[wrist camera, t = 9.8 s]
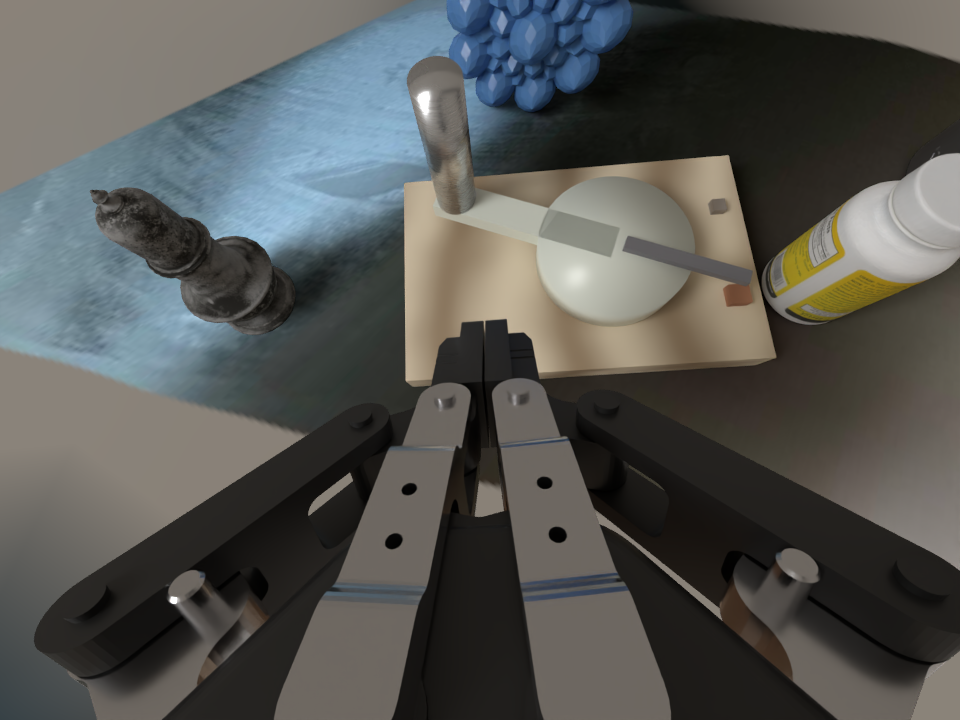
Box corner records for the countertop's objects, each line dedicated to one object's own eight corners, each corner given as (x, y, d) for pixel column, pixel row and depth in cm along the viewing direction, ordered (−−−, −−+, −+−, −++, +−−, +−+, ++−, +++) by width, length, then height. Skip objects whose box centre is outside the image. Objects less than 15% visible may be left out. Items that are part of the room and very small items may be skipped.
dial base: (713, 175, 29) (733, 148, 26) (755, 365, 25) (783, 355, 23) (410, 200, 30) (401, 177, 27) (413, 386, 26) (403, 379, 24)
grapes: (608, 67, 32) (670, -161, 20) (603, 139, 30) (666, -62, 18) (463, 59, 32) (440, -162, 21) (450, 129, 31) (418, -68, 19)
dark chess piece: (255, 248, 30) (94, 112, 18) (316, 287, 28) (186, 170, 17) (202, 311, 29) (-5, 211, 17) (263, 354, 28) (86, 279, 16)
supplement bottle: (863, 300, 26) (1070, 210, 16) (795, 341, 26) (968, 273, 16) (805, 237, 27) (967, 119, 18) (740, 275, 27) (871, 175, 17)
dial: (743, 231, 25) (893, 90, 16) (711, 362, 23) (858, 295, 14) (466, 156, 28) (446, -5, 18) (418, 270, 26) (367, 158, 16)
